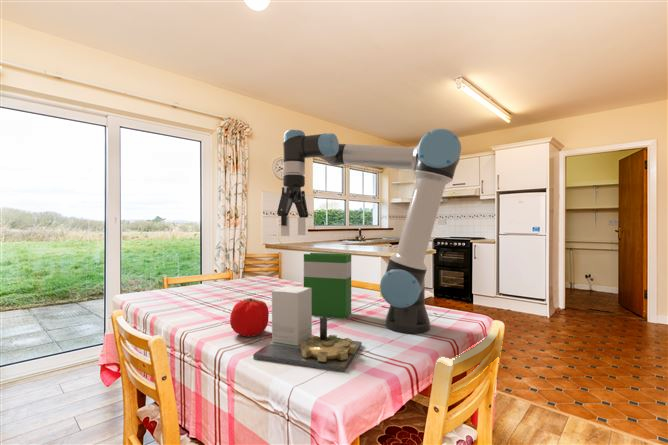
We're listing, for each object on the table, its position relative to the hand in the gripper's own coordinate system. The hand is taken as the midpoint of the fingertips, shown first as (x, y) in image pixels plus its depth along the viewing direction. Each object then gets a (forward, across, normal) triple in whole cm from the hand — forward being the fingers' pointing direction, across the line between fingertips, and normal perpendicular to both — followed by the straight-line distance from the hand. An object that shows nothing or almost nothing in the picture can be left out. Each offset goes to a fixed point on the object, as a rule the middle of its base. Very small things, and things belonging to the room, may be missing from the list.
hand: (293, 235), depth 114 cm
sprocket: (+30, +21, +20) cm, 42 cm away
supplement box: (+31, +16, +7) cm, 35 cm away
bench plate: (+32, +20, +14) cm, 40 cm away
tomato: (+32, +12, -10) cm, 36 cm away
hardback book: (+32, -19, +6) cm, 38 cm away
